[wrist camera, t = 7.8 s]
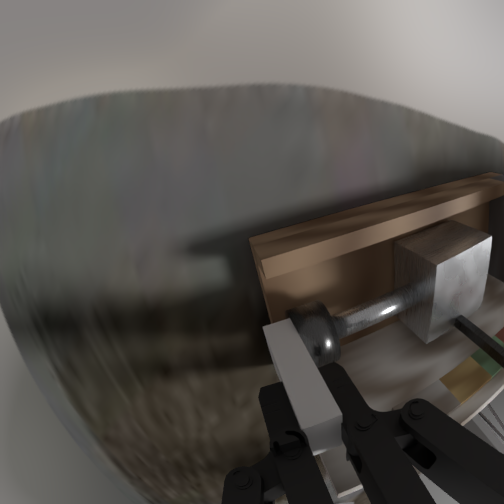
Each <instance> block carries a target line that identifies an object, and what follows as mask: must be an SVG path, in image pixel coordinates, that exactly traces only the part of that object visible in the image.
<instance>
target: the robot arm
mask: <svg viewBox="0 0 504 504" xmlns="http://www.w3.org/2000/svg"><path fill="white" fill-rule="evenodd" d="M263 330H264V334H265V337H266V341H267V344H268V347H269V351H270V354H271V358H272V361H273V364H274V367H275V369H276V372H277V375H278V378H279V380H280V382H278V383H275V384H271V385H268V386H265V387H262V388H260V393H259V397H258V398H259V401H260V405H261V409H262V412H263V415H264V419H265V423H266V426H267V430H268V433H269V437H270V452H269V454H268V455H267V456H266V457H265V458H264V459H263V460H262V461H260V462H258V463H256V464H255V465H253V466H251V467H245V466H243V467H237V468H235V469H233V470H231V471H230V472H229V473H228V474H227V475H226V478H225V481H224V488H223V496H222V504H275V499H277V498H279V497H280V496H282V495H284V494H285V493H286V497H287V500H288V503H289V504H334V503H333V501H332V499H331V496H330V494H329V492H328V489H327V487H326V484H325V482H324V480H323V477H322V475H321V472H320V470H319V468H318V465H317V463H316V460H315V458H314V455H317V454H320V453H323V452H325V451H328V450H330V449H333V448H335V447H338V446H340V445H342V441H343V443H344V445H345V447H346V460H347V461H349V460H350V462H351V464H352V466H353V468H354V470H355V472H356V474H357V476H358V478H359V480H360V482H361V484H362V486H363V488H364V490H365V492H366V494H367V496H368V498H369V500H370V502H371V504H436V503H435V501H434V499H433V498H432V496H431V495H430V493H429V491H428V490H427V488H426V487H425V485H424V483H423V482H422V481H421V479H420V477H419V475H418V474H417V472H416V471H415V469H414V467H416V468H417V469H418V470H419V471H420V472H422V473H423V474H424V475H425V476H426V477H428V478H429V479H430V480H431V481H432V482H433V483H435V484H436V485H437V486H439V487H440V488H441V489H442V490H443V491H444V492H446V493H447V494H448V495H449V496H451V497H452V498H453V499H455V500H456V501H457V502H458V503H460V504H504V454H502V453H501V452H499V451H498V450H497V449H495V448H494V447H492V446H491V445H489V444H488V443H486V442H485V441H484V440H482V439H481V438H479V437H478V436H476V435H475V434H474V433H472V432H471V431H469V430H468V429H466V428H465V427H464V426H462V425H461V424H459V423H458V422H457V421H455V420H454V419H452V418H451V417H449V416H448V415H447V414H445V413H444V412H442V411H441V410H440V409H438V408H437V407H436V406H434V405H433V404H431V403H430V402H429V401H427V400H425V399H421V398H416V399H412V400H410V401H408V402H407V403H405V405H404V406H403V407H402V408H401V409H397V410H392V411H387V412H380V411H376V410H373V409H372V408H370V407H369V406H368V404H367V403H366V401H365V400H364V398H363V397H362V395H361V394H360V392H359V391H358V389H357V388H356V386H355V385H354V383H353V382H352V380H351V378H350V377H349V376H348V374H347V372H346V371H345V369H344V368H343V367H342V366H341V365H339V364H338V363H336V362H332V363H329V364H327V365H324V366H321V367H319V368H317V367H316V365H315V363H314V361H313V359H312V358H311V356H310V354H309V352H308V350H307V349H306V347H305V345H304V343H303V341H302V339H301V338H300V336H299V334H298V332H297V330H296V328H295V327H294V325H293V323H292V321H291V319H290V318H288V319H285V320H282V321H279V322H276V323H273V324H270V325H266V326H263ZM412 465H413V466H414V467H413V466H412Z"/></svg>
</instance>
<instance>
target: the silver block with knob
mask: <svg viewBox="0 0 504 504" xmlns="http://www.w3.org/2000/svg"><path fill="white" fill-rule="evenodd" d="M491 244H492V235H489V234H487V233H484V232H482V231H480V230H477V229H475V228H472V227H470V226H467V225H465V224H462V223H459V222H457V221H454V220H450V221H447V222H445V223H442V224H440V225H437V226H435V227H432V228H429V229H427V230H424V231H421V232H419V233H416V234H413V235H411V236H408V237H405V238H403V239H400V240H397V241H395V242H394V267H395V281H394V290H393V291H390V292H388V293H386V294H384V295H381V296H379V297H377V298H374V299H372V300H370V301H367V302H365V303H362V304H360V305H357V306H355V307H352V308H350V309H347V310H345V311H342V312H340V313H337V314H334V315H332V316H331V315H330V313H329V311H328V310H327V308H326V307H325V305H324V304H323V303H322V302H321V301H320V300H315V301H312V302H309V303H306V304H303V305H301V306H298V307H295V308H292V309H289V310H286V311H285V318H286V319H288V318H290V319H291V321H292V323H293V325H294V327H295V328H296V330H297V332H298V334H299V336H300V338H301V339H302V341H303V343H304V345H305V347H306V349H307V350H308V352H309V354H310V356H311V358H312V359H313V361H314V363H315V365H316V367H317V368H319V367H321V366H324V365H327V364H329V363H332V362H336V361H339V360H340V357H341V348H340V342H339V339H341V338H344V337H346V336H349V335H351V334H353V333H356V332H358V331H360V330H363V329H365V328H367V327H370V326H372V325H374V324H376V323H379V322H381V321H383V320H385V319H387V318H389V317H391V316H393V315H395V316H396V317H398V318H399V319H400V320H401V321H402V322H403V323H404V324H405V325H406V326H407V327H408V328H409V329H411V330H412V331H413V332H414V333H415V334H416V335H417V336H418V337H419V338H420V339H421V340H422V341H423V342H424V343H425V344H428V343H430V342H431V341H433V340H435V339H436V338H438V337H439V336H441V335H443V334H444V333H446V332H447V331H449V330H450V329H452V328H453V327H456V328H457V329H458V330H459V331H461V332H462V333H463V334H464V335H465V336H467V337H468V338H469V339H470V340H471V341H473V342H474V343H475V344H476V345H477V346H479V347H480V348H481V349H482V350H483V351H484V352H486V353H487V354H488V355H489V356H490V357H491V358H492V359H494V360H495V361H496V362H497V363H498V364H499V365H500V366H501V367H502V368H504V348H503V347H502V346H501V345H500V344H499V343H497V342H496V341H495V340H494V339H492V338H491V337H490V336H489V335H487V334H486V333H485V332H484V331H482V330H481V329H480V328H478V327H477V326H476V325H475V324H473V323H472V322H471V321H469V320H468V319H467V317H469V316H470V315H472V314H473V313H474V312H476V311H477V310H478V309H480V308H481V305H482V300H483V295H484V291H485V285H486V280H487V274H488V268H489V261H490V253H491Z"/></svg>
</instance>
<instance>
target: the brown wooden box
mask: <svg viewBox="0 0 504 504" xmlns="http://www.w3.org/2000/svg"><path fill="white" fill-rule="evenodd" d="M450 220H454V221H457V222H459V223H462V224H465V225H467V226H470V227H472V228H475V229H477V230H480V231H482V232H484V233H487V234H489V235H492V244H491V253H490V261H489V268H488V274H487V280H486V285H485V291H484V295H483V300H482V305H481V308H480V309H478V310H477V311H476V312H474V313H473V314H472V315H470V316H469V317H467V319H468V320H469V321H471V322H472V323H473V324H475V325H476V326H477V327H478V328H480V329H481V330H482V331H484V332H485V333H486V334H487V335H489V336H490V337H491V338H492V339H494V340H495V341H496V342H497V343H499V344H500V345H501V346H502V347H503V348H504V175H502V174H498V173H493V172H489V173H485V174H481V175H477V176H473V177H469V178H465V179H461V180H457V181H453V182H449V183H445V184H442V185H438V186H434V187H430V188H426V189H422V190H419V191H415V192H411V193H407V194H404V195H400V196H396V197H392V198H389V199H385V200H381V201H378V202H374V203H370V204H367V205H363V206H359V207H356V208H352V209H348V210H345V211H341V212H338V213H334V214H331V215H327V216H323V217H320V218H316V219H313V220H309V221H306V222H302V223H299V224H295V225H292V226H288V227H285V228H281V229H278V230H274V231H271V232H267V233H264V234H261V235H257V236H254V237H250V238H248V239H249V242H250V246H251V250H252V254H253V257H254V261H255V265H256V269H257V273H258V276H259V280H260V284H261V288H262V292H263V295H264V299H265V303H266V307H267V310H268V314H269V318H270V322H271V324H273V323H276V322H279V321H282V320H285V319H286V318H285V311H286V310H289V309H292V308H295V307H298V306H301V305H303V304H306V303H309V302H312V301H315V300H320V301H321V302H322V303H323V304H324V305H325V307H326V308H327V310H328V311H329V313H330V315H331V316H332V315H334V314H337V313H340V312H342V311H345V310H347V309H350V308H352V307H355V306H357V305H360V304H362V303H365V302H367V301H370V300H372V299H374V298H377V297H379V296H381V295H384V294H386V293H388V292H390V291H393V290H394V281H395V267H394V242H395V241H397V240H400V239H403V238H405V237H408V236H411V235H413V234H416V233H419V232H421V231H424V230H427V229H429V228H432V227H435V226H437V225H440V224H442V223H445V222H447V221H450ZM339 342H340V348H341V357H340V360H339V361H336V363H338V364H339V365H341V366H342V367H343V368H344V369H345V371H346V372H347V374H348V376H349V377H350V378H351V380H352V382H353V383H354V385H355V386H356V388H357V389H358V391H359V392H360V394H361V395H362V397H363V398H364V400H365V401H366V403H367V404H368V406H369V407H370V408H372V409H373V410H376V411H380V412H387V411H392V410H397V409H401V408H402V407H403V406H404V405H405V403H407V402H408V401H410V400H412V399H416V398H421V399H425V400H427V401H429V402H430V403H431V404H433V405H434V406H436V407H437V408H438V409H440V410H441V411H442V412H444V413H445V414H447V415H448V416H449V417H451V418H452V419H454V420H455V421H457V422H458V423H459V424H461V425H462V426H464V425H465V424H466V423H467V422H468V421H470V420H471V419H472V418H473V417H474V416H475V415H477V414H478V413H479V412H480V411H481V410H482V409H483V408H484V407H485V406H487V405H488V404H489V403H490V402H491V401H492V400H493V399H494V398H495V397H496V396H497V395H498V394H499V393H500V392H501V391H502V390H503V389H504V368H502V367H501V366H500V365H499V364H498V363H497V362H496V361H495V360H494V359H492V358H491V357H490V356H489V355H488V354H487V353H486V352H484V351H483V350H482V349H481V348H480V347H479V346H477V345H476V344H475V343H474V342H473V341H471V340H470V339H469V338H468V337H467V336H465V335H464V334H463V333H462V332H461V331H459V330H458V329H457V328H456V327H453V328H452V329H450V330H449V331H447V332H446V333H444V334H443V335H441V336H439V337H438V338H436V339H435V340H433V341H431V342H430V343H428V344H425V343H424V342H423V341H422V340H421V339H420V338H419V337H418V336H417V335H416V334H415V333H414V332H413V331H412V330H411V329H409V328H408V327H407V326H406V325H405V324H404V323H403V322H402V321H401V320H400V319H399V318H398V317H396V316H395V315H393V316H391V317H389V318H387V319H385V320H383V321H381V322H379V323H376V324H374V325H372V326H370V327H367V328H365V329H363V330H360V331H358V332H356V333H353V334H351V335H349V336H346V337H344V338H341V339H339ZM319 455H320V458H321V460H322V462H323V465H324V467H325V469H326V472H327V474H328V476H329V479H330V481H331V483H332V486H333V488H334V490H335V493H336V495H337V497H338V498H339V497H342V496H345V495H347V494H349V493H352V492H354V491H357V490H359V489H361V488H363V486H362V484H361V482H360V480H359V478H358V476H357V474H356V472H355V470H354V468H353V466H352V464H351V462H350V460H349V461H347V460H346V447H345V445H344V443H343V441H342V445H340V446H338V447H335V448H333V449H330V450H328V451H325V452H323V453H320V454H319Z"/></svg>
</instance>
